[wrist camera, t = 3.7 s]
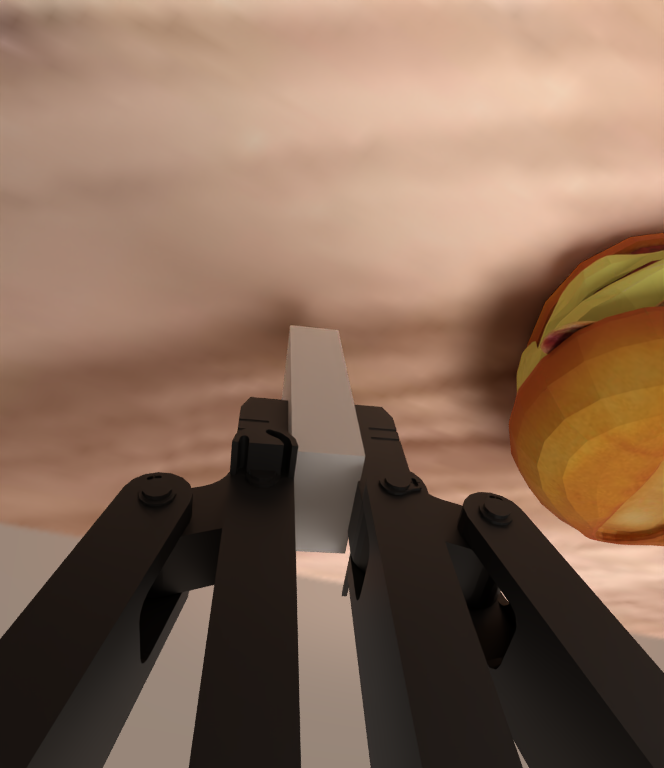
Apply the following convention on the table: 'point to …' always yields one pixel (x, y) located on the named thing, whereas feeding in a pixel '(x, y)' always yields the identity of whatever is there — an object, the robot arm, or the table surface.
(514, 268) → the table surface
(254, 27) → the table surface
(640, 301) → the cheeseburger
